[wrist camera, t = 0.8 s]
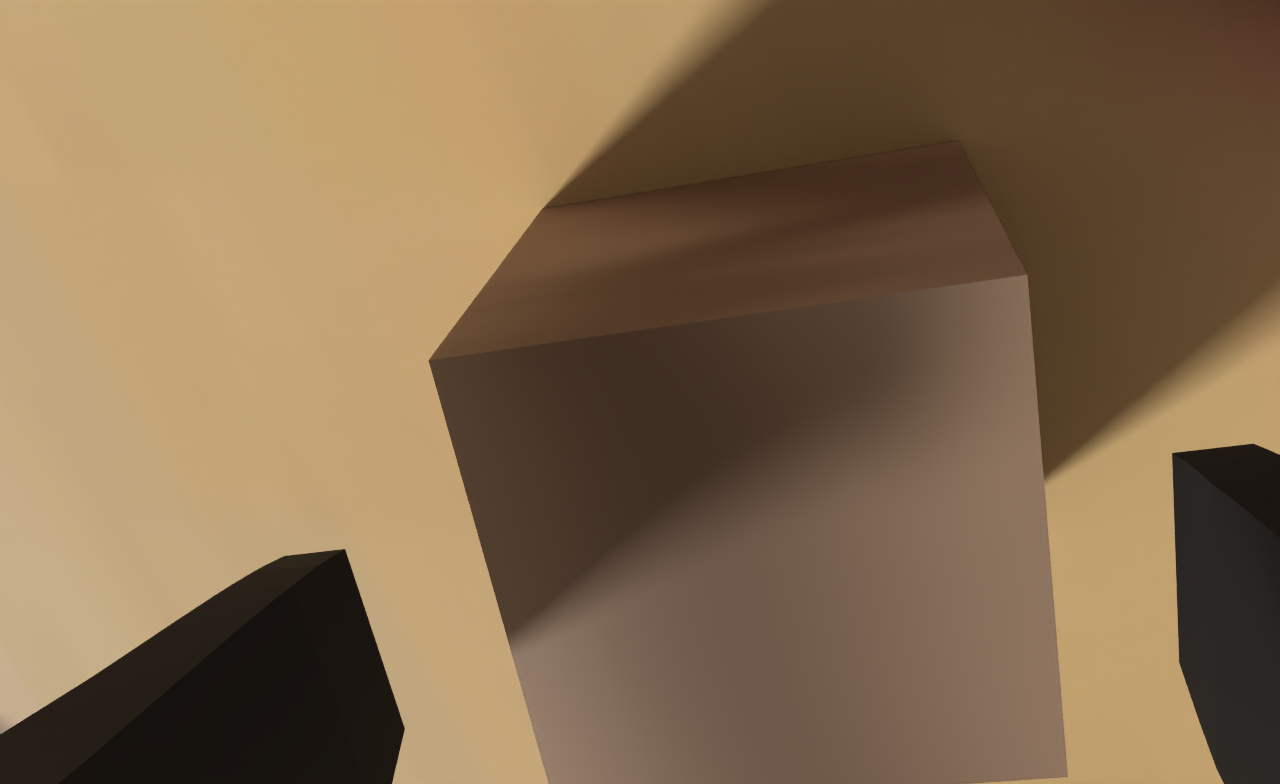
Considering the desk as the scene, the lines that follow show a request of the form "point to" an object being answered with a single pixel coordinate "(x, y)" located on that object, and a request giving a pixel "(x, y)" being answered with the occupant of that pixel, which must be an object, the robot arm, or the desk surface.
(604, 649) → the walnut cube
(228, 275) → the desk surface
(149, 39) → the desk surface
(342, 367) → the desk surface
